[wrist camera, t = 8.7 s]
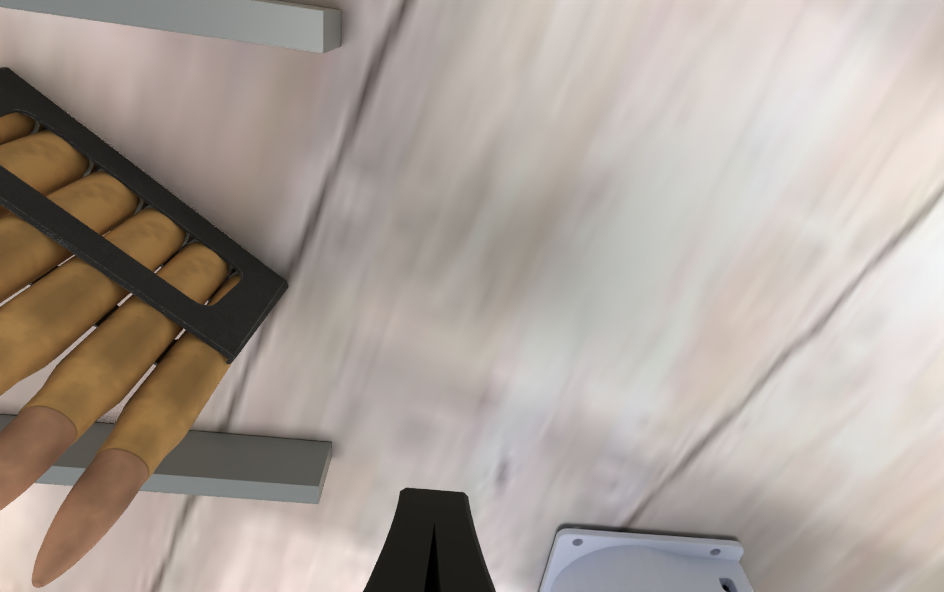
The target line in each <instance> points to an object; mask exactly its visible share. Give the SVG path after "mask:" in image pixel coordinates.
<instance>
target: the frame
mask: <svg viewBox="0 0 944 592" xmlns="http://www.w3.org/2000/svg"><path fill="white" fill-rule="evenodd" d="M0 7H4V8H11V9H18V10H25V11H32V12H39V13H46V14H53V15H60V16H67V17H74V18H81V19H88V20H95V21H102V22H109V23H116V24H123V25H130V26H137V27H144V28H150V29H157V30H164V31H171V32H178V33H185V34H192V35H199V36H206V37H213V38H220V39H227V40H234V41H241V42H248V43H255V44H262V45H269V46H276V47H283V48H290V49H297V50H304V51H311V52H318V53H325V52H327V51H330V50H333V49H335V48H338V47H340V46H341V10H338V9H332V8H325V7H318V6H312V5H305V4H298V3H292V2H285V1H278V0H0ZM15 417H16V416H12V415H0V432H1V431H2V430H3V429H4V428H5V427H6V426H7V425H8V424H9V423H10V422H11V421H12V420H13V419H14V418H15ZM114 426H115V424H106V423H95V422H94V423H93V424H92V425H91V426H90V427H89V428H88V430H87V431H86V432H85V433H84V434H83V435H82V436H81V437H80V438H79V439H78V440H77V441H76V442H75V443H73V444H72V445H70V447H69V448H68V449H67V450H66V451H65V452H64V453H63V454H62V455H61V457H60V458H59V459H58V460H57V461H56V462H55V463H54V464H53V465H52V466H51V467H50V468H49V469H48V470H47V471H46V472H45V473H44V474H43V475H42V476H41V477H40V478H39V479H38V480H37V481H36V482H34V483H42V484H55V485H69V486H74V484H75V483H76V481H77V480H78V479H79V477H80V476H81V475H82V473H83V472H84V471H85V469H86V468H87V467H88V466H89V464H90V463H91V462H92V460H93V459H94V457H95V455H96V453H97V451H98V450H99V449H100V447H101V446H102V444H103V443H104V442H105V440H106V439H107V438H108V436H109V435H110V433H111V432H112V431H113V428H114ZM330 461H331V442H319V441H308V440H296V439H284V438H272V437H260V436H248V435H237V434H225V433H213V432H201V431H188V432H187V434H186V435H185V437H184V438H183V439H182V441H181V442H180V443H179V444H178V445H177V446H176V447H175V448H174V449H173V450H172V451H171V452H169V453H168V454H167V455H166V456H165V457H164V458H163V460H162V461H161V462H160V464H159V465H158V467H157V468H156V469H155V471H154V472H153V474H152V475H151V476H150V478H149V479H148V480H147V481H146V482H145V483H144V484H143V485H142V487H141V488H140V490H139V491H149V492H162V493H176V494H189V495H202V496H216V497H229V498H242V499H256V500H269V501H282V502H296V503H309V504H319V501H320V497H321V494H322V490H323V486H324V483H325V479H326V476H327V472H328V468H329V465H330Z"/></svg>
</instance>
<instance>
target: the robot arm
mask: <svg viewBox="0 0 944 592" xmlns="http://www.w3.org/2000/svg"><path fill="white" fill-rule="evenodd" d="M743 553H744V549H743V547H742V545H741V543H739V542H738V541H732V540H719V539H705V538H692V537H678V536H665V535H651V534H638V533H624V532H611V531H597V530H584V529H570V528H565V529H562V530H560V531H559V532H558V533H557V535H556V538H555V541H554V544H553V547H552V551H551V554H550V557H549V561H548V564H547V567H546V571H545V574H544V577H543V580H542V584H541V587H540V590H539V592H754V590H753V588H752V586H751V584H750V582H749V580H748V578H747V576H746V574H745V572H744V570H743V568H742V566H741V564H740V562H739V561H740V559H741V557H742V555H743ZM363 592H496V591H495V588H494V585H493V583H492V580H491V577H490V574H489V572H488V569H487V566H486V563H485V560H484V557H483V554H482V551H481V548H480V544H479V541H478V538H477V535H476V531H475V527H474V523H473V519H472V515H471V510H470V506H469V500H468V496H467V495H466V494H465V493H464V492H454V491H441V490H429V489H416V488H405V489H403V490H401V491H400V495H399V501H398V505H397V509H396V512H395V516H394V519H393V522H392V525H391V528H390V531H389V533H388V536H387V538H386V541H385V544H384V546H383V549H382V551H381V553H380V556H379V558H378V560H377V562H376V565H375V567H374V569H373V572H372V574H371V576H370V578H369V581H368V583H367V585H366V587H365V589H364V591H363Z"/></svg>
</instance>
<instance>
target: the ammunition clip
mask: <svg viewBox="0 0 944 592" xmlns="http://www.w3.org/2000/svg"><path fill="white" fill-rule="evenodd" d="M109 231H110V232H109ZM107 232H108V233H107ZM106 233H107V234H106ZM104 234H106V235H104ZM103 235H104V236H103ZM102 236H103V237H102ZM73 255H75V256H74V257H72V258H71V259H69V260H68V261H66V262H65V263H63V264H62V265H60V266H57V265H59V264H60V263H62V262H63V261H65V260H66V259H68V258H69V257H71V256H73ZM159 267H162V268H161V269H160V270H159V271H158V272H157V273H154V271H155V270H157V269H158V268H159ZM27 285H31V286H30V287H28V288H27V289H26V290H24V291H23V292H21V293H20V294H18V295H17V296H15V297H14V298H12V299H11V300H10V301H8V302H7V303H5V304H4V305H2V306H1V307H0V396H1V395H2V394H3V393H5V392H6V391H7V390H8V389H10V388H11V387H12V386H13V385H15V384H16V383H17V382H19V381H21V380H22V379H24V378H26V377H28V376H30V375H32V374H33V373H35V372H37V371H39V370H40V369H42V368H44V367H45V366H46V365H48V364H49V363H50V362H52V361H53V360H54V359H55V358H57V357H58V356H59V355H60V354H61V353H63V352H64V351H65V350H66V349H67V348H68V347H69V346H70V345H72V344H73V343H74V342H75V341H76V340H77V339H78V338H80V337H81V336H82V335H83V334H84V333H85V332H86V331H87V330H89V329H90V328H91V327H92V326H95V327H97V328H96V329H95V330H94V331H93V332H92V333H91V334H89V335H88V336H87V337H86V338H85V339H84V340H83V341H82V342H81V343H80V344H79V345H78V346H76V347H75V348H74V349H73V350H72V351H71V352H70V353H69V354H68V355H67V356H66V357H65V358H64V359H62V360H61V362H60V363H59V364H58V365H57V366H56V367H55V369H54V370H53V372H52V373H51V375H50V376H49V378H48V379H47V381H46V382H45V384H44V385H43V387H42V388H41V389H40V390H39V391H38V393H37V394H36V395H35V396H34V397H33V398H32V399H31V400H30V401H29V402H28V403H27V404H26V405H25V406H24V407H23V408H22V409H21V410H20V412H19V414H18V415H17V416H16V417H15V418H14V419H13V420H12V421H11V422H10V423H9V424H8V425H7V426H6V427H5V428H4V429H3V430H2V431H1V432H0V510H2V509H3V508H5V507H6V506H7V505H8V504H10V503H11V502H12V501H14V500H15V499H16V498H17V497H18V496H20V495H21V494H22V493H23V492H25V491H26V490H27V489H28V488H29V487H30V486H31V485H32V484H33V483H34V482H36V481H37V480H38V479H39V478H40V477H41V476H42V475H43V474H44V473H45V472H46V471H47V470H48V469H49V468H50V467H51V466H52V465H53V464H54V463H55V462H56V461H57V460H58V459H59V458H60V457H61V455H62V454H63V453H64V452H65V451H66V450H67V449H68V448H69V447H70V445H72V444H73V443H75V442H76V441H77V440H78V439H79V438H80V437H81V436H82V435H83V434H84V433H85V432H86V431H87V430H88V428H89V427H90V426H91V425H92V424H93V423H94V422H95V421H96V420H97V419H99V418H100V417H101V416H103V415H104V414H105V413H107V412H108V411H109V410H111V409H112V408H113V407H115V406H116V405H117V404H118V403H120V402H121V401H122V400H123V399H124V397H125V396H126V395H127V394H128V393H129V392H130V391H131V389H132V388H133V387H134V386H135V385H136V383H137V382H138V381H139V380H140V379H141V378H142V376H143V375H144V374H145V373H146V372H147V371H148V369H149V368H150V367H151V366H152V365H153V364H155V365H156V367H155V368H154V370H153V371H152V372H151V373H150V375H149V376H148V377H147V378H146V380H145V381H144V382H143V383H142V384H141V386H140V387H139V388H138V389H137V391H136V392H135V393H134V394H133V396H132V397H131V398H130V399H129V401H128V402H127V403H126V405H125V406H124V408H123V410H122V412H121V414H120V416H119V418H118V420H117V422H116V424H115V426H114V428H113V431H112V432H111V433H110V435H109V436H108V438H107V439H106V440H105V442H104V443H103V444H102V446H101V447H100V449H99V450H98V451H97V453H96V455H95V457H94V459H93V460H92V462H91V463H90V464H89V466H88V467H87V468H86V469H85V471H84V472H83V473H82V475H81V476H80V477H79V479H78V480H77V481H76V483H75V484H74V486H73V488H72V489H71V491H70V492H69V494H68V495H67V497H66V499H65V500H64V502H63V503H62V505H61V507H60V508H59V510H58V512H57V514H56V516H55V518H54V519H53V521H52V523H51V525H50V527H49V529H48V532H47V534H46V536H45V538H44V541H43V543H42V545H41V548H40V550H39V552H38V555H37V558H36V561H35V565H34V569H33V574H32V584H33V586H34V587H37V588H40V587H43V586H45V585H47V584H48V583H50V582H52V581H53V580H55V579H56V578H58V577H59V576H60V575H62V574H63V573H65V572H66V571H67V570H68V569H70V568H71V567H72V566H73V565H74V564H76V563H77V562H78V561H79V560H80V559H81V558H82V557H83V556H84V555H85V554H86V553H87V552H88V551H90V550H91V549H92V548H93V547H94V546H95V545H96V543H97V542H98V541H99V540H100V539H101V538H102V537H103V536H104V535H105V534H106V533H107V532H108V531H109V529H110V528H111V527H112V526H113V525H114V523H115V522H116V521H117V520H118V518H119V517H120V516H121V515H122V514H123V512H124V511H125V510H126V509H127V507H128V506H129V504H130V503H131V501H132V500H133V499H134V497H135V496H136V494H137V493H138V491H139V490H140V488H141V487H142V485H143V484H144V483H145V482H146V481H147V480H148V479H149V478H150V476H151V475H152V474H153V472H154V471H155V469H156V468H157V467H158V465H159V464H160V462H161V461H162V460H163V458H164V457H165V456H166V455H167V454H168V453H169V452H171V451H172V450H173V449H174V448H175V447H176V446H177V445H178V444H179V443H180V442H181V441H182V439H183V438H184V437H185V435H186V434H187V432H188V431H189V429H190V428H191V426H192V424H193V423H194V421H195V420H196V418H197V417H198V415H199V414H200V412H201V410H202V409H203V407H204V406H205V404H206V403H207V401H208V400H209V398H210V396H211V395H212V393H213V392H214V390H215V389H216V387H217V386H218V384H219V382H220V381H221V379H222V378H223V376H224V375H225V373H226V372H227V370H228V368H229V367H230V365H231V364H232V362H233V361H234V360H235V358H236V357H237V356H238V354H239V353H240V352H241V350H242V349H243V348H244V346H245V345H246V343H247V342H248V341H249V339H250V338H251V337H252V335H253V334H254V333H255V331H256V330H257V329H258V327H259V326H260V325H261V323H262V322H263V321H264V319H265V318H266V316H267V315H268V314H269V312H270V311H271V310H272V308H273V307H274V306H275V304H276V303H277V302H278V300H279V299H280V298H281V296H282V295H283V294H284V292H285V291H286V289H287V288H288V285H287V282H286V281H285V280H284V279H283V278H281V277H280V276H279V275H277V274H276V273H275V272H273V271H272V270H271V269H270V268H268V267H267V266H266V265H264V264H263V263H262V262H260V261H259V260H258V259H256V258H255V257H254V256H253V255H251V254H250V253H249V252H247V251H246V250H245V249H243V248H242V247H241V246H240V245H238V244H237V243H236V242H234V241H233V240H232V239H230V238H229V237H228V236H226V235H225V234H224V233H223V232H221V231H220V230H219V229H217V228H216V227H215V226H213V225H212V224H211V223H210V222H208V221H207V220H206V219H204V218H203V217H202V216H200V215H199V214H198V213H196V212H195V211H194V210H193V209H191V208H190V207H189V206H187V205H186V204H185V203H183V202H182V201H181V200H180V199H178V198H177V197H176V196H174V195H173V194H172V193H170V192H169V191H168V190H166V189H165V188H164V187H163V186H161V185H160V184H159V183H157V182H156V181H155V180H153V179H152V178H151V177H150V176H148V175H147V174H146V173H144V172H143V171H142V170H140V169H139V168H138V167H136V166H135V165H134V164H133V163H131V162H130V161H129V160H127V159H126V158H125V157H123V156H122V155H121V154H120V153H118V152H117V151H116V150H114V149H113V148H112V147H110V146H109V145H108V144H106V143H105V142H104V141H103V140H101V139H100V138H99V137H97V136H96V135H95V134H93V133H92V132H91V131H90V130H88V129H87V128H86V127H84V126H83V125H82V124H80V123H79V122H78V121H76V120H75V119H74V118H73V117H71V116H70V115H69V114H67V113H66V112H65V111H63V110H62V109H61V108H60V107H58V106H57V105H56V104H54V103H53V102H52V101H50V100H49V99H48V98H47V97H45V96H44V95H43V94H41V93H40V92H39V91H37V90H36V89H35V88H33V87H32V86H31V85H30V84H28V83H27V82H26V81H24V80H23V79H22V78H20V77H19V76H18V75H17V74H15V73H14V72H13V71H11V70H10V69H9V68H6V67H5V68H0V303H1V302H3V301H4V300H6V299H7V298H9V297H10V296H12V295H13V294H15V293H16V292H18V291H19V290H21V289H22V288H24V287H26V286H27ZM129 293H132V294H133V295H132V296H131V297H129V298H128V299H127V300H126V301H125V302H124V303H123V304H122V305H121V306H120V307H119V306H118V305H117V304H118V303H119V302H120V301H121V300H123V299H124V298H125V297H126V296H127V295H128V294H129ZM207 300H208V301H209V302H208V303H207V305H204V304H205V303H206V301H207ZM183 328H184V329H185V332H184V333H183V334H182V335H181V337H180V338H179V339H177V340H175V338H176V337H177V335H178V334H179V333H180V332H181V331H182V330H183Z"/></svg>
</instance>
